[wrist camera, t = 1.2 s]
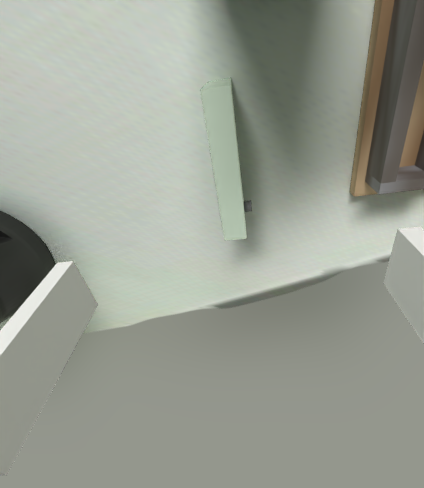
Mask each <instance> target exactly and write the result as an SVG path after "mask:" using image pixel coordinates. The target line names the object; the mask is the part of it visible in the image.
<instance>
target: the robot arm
mask: <svg viewBox="0 0 424 488" xmlns="http://www.w3.org/2000/svg"><path fill="white" fill-rule="evenodd" d="M383 284H384V285H385V287H386V288H387V290H388V291H389V293H390V294H391V296H392V297H393V299H394V300H395V302H396V303H397V305H398V306H399V308H400V309H401V311H402V312H403V314H404V315H405V317H406V318H407V319H408V321H409V323H410V324H411V326H412V327H413V329H414V330H415V332H416V333H417V334H418V336H419V338H420V339H421V340H422V342H423V343H424V230H423V229H422V228H421V227H411V228H401V229H397V233H396V237H395V241H394V244H393V248H392V252H391V256H390V260H389V264H388V268H387V272H386V275H385V279H384V283H383ZM97 306H98V303H97V302H96V300H95V298H94V296H93V295H92V293H91V291H90V289H89V288H88V286H87V284H86V282H85V281H84V279H83V277H82V275H81V274H80V272H79V270H78V268H77V267H76V265H75V263H74V261H70V262H60V263H57V264H56V265H55V266H54V262H53V259H52V256H51V254H50V252H49V250H48V249H47V247H46V246H45V244H44V243H43V242H42V241H41V239H40V238H39V237H38V236H37V235H36V234H35V233H34V232H33V231H32V230H30V229H29V228H28V227H27V226H25V225H24V224H23V223H21V222H20V221H18V220H17V219H15V218H13V217H12V216H10V215H8V214H6V213H4V212H2V211H0V323H1V322H3V321H5V320H6V319H8V318H9V317H11V316H12V315H13V316H12V317H11V318H10V320H9V321H8V322H7V323H6V324H5V326H4V327H3V328H2V329H1V330H0V475H5V476H6V475H7V474H8V472H9V470H10V468H11V466H12V464H13V463H14V461H15V459H16V457H17V455H18V453H19V451H20V450H21V448H22V446H23V444H24V442H25V440H26V438H27V437H28V435H29V433H30V431H31V429H32V427H33V425H34V424H35V422H36V420H37V418H38V416H39V414H40V412H41V410H42V409H43V407H44V405H45V403H46V401H47V399H48V397H49V396H50V394H51V392H52V390H53V388H54V386H55V384H56V383H57V381H58V378H59V377H60V375H61V373H62V371H63V369H64V368H65V365H66V364H67V362H68V360H69V358H70V356H71V355H72V353H73V351H74V349H75V347H76V345H77V343H78V341H79V340H80V337H81V336H82V334H83V332H84V330H85V328H86V327H87V325H88V323H89V321H90V319H91V317H92V315H93V314H94V312H95V310H96V308H97Z"/></svg>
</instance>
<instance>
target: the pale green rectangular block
mask: <svg viewBox="0 0 424 488" xmlns="http://www.w3.org/2000/svg"><path fill="white" fill-rule="evenodd" d="M200 92H201V98H202V104H203V111H204V117H205V123H206V129H207V135H208V141H209V148H210V154H211V160H212V166H213V172H214V178H215V185H216V191H217V197H218V203H219V209H220V215H221V222H222V228H223V234H224V240H225V241H228V240H238V239H247V234H246V222H245V212H248V211H252V207H251V201H244V198H243V189H242V179H241V169H240V160H239V150H238V141H237V131H236V121H235V112H234V102H233V92H232V83H231V78H227V79H221V80H216V81H210V82H207V83H206V84H205V86H204V87H203V88H202V89H201V90H200Z"/></svg>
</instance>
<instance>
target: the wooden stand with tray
mask: <svg viewBox="0 0 424 488" xmlns="http://www.w3.org/2000/svg"><path fill="white" fill-rule="evenodd" d="M420 189H424V0H375V7H374V14H373V22H372V29H371V37H370V44H369V51H368V59H367V66H366V74H365V81H364V89H363V96H362V104H361V111H360V119H359V126H358V134H357V141H356V149H355V156H354V164H353V171H352V179H351V186H350V192H351V194H352V195H353V196H363V195H371V194H385V193H394V192H403V191H411V190H420Z"/></svg>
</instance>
